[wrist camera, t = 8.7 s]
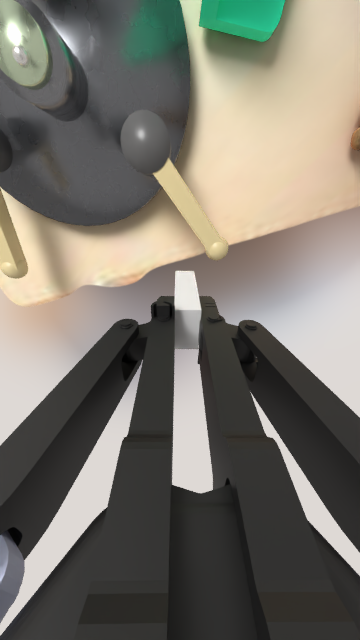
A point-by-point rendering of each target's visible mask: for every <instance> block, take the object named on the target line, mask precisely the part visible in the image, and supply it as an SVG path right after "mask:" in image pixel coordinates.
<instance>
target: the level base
mask: <svg viewBox="0 0 360 640" xmlns="http://www.w3.org/2000/svg"><path fill="white" fill-rule="evenodd" d="M189 95H190V61H189V52H188V42H187V34H186V29H185V24H184V18H183V13H182V8H181V4H180V1H179V0H0V129H1V130H2V131H3V133H4V134H5V135H6V137H7V139H8V140H9V143H10V145H11V148H12V153H13V160H12V164H11V166H10V167H9V169H7V170H6V171H4V172H0V187H1V188H2V189H3V190H5V191H6V192H7V193H9V194H10V195H11V196H13V197H14V198H15V199H16V200H18V201H19V202H21V203H22V204H24V205H26V206H27V207H29V208H30V209H32V210H34V211H36V212H38V213H40V214H42V215H44V216H46V217H49V218H52V219H55V220H57V221H60V222H65V223H69V224H73V225H84V226H92V225H103V224H108V223H112V222H115V221H118V220H121V219H123V218H126V217H128V216H129V215H131V214H133V213H135V212H137V211H138V210H140V209H141V208H142V207H143V206H145V205H146V204H147V203H148V202H149V201H150V200H151V199H152V198H153V197H154V196H155V195H156V194H157V193H158V192H159V190H160V189H161V188H162V186H161V184H160V183H159V182H158V180H157V179H156V177H155V176H147V175H145V174H143V173H141V172H139V171H137V170H135V169H134V168H133V167H132V166H131V165H130V164H129V163H128V162H127V160H126V158H125V156H124V154H123V151H122V148H121V130H122V127H123V124H124V122H125V120H126V119H127V118H128V116H129V115H131V114H132V113H133V112H135V111H138V110H149V111H151V112H154V113H155V114H157V115H158V116H159V117H160V118H161V119H162V121H163V122H164V123H165V125H166V127H167V130H168V133H169V137H170V143H171V159H170V161H171V162H172V164H173V165H175V162H176V160H177V158H178V155H179V152H180V149H181V145H182V142H183V138H184V134H185V128H186V123H187V117H188V108H189Z"/></svg>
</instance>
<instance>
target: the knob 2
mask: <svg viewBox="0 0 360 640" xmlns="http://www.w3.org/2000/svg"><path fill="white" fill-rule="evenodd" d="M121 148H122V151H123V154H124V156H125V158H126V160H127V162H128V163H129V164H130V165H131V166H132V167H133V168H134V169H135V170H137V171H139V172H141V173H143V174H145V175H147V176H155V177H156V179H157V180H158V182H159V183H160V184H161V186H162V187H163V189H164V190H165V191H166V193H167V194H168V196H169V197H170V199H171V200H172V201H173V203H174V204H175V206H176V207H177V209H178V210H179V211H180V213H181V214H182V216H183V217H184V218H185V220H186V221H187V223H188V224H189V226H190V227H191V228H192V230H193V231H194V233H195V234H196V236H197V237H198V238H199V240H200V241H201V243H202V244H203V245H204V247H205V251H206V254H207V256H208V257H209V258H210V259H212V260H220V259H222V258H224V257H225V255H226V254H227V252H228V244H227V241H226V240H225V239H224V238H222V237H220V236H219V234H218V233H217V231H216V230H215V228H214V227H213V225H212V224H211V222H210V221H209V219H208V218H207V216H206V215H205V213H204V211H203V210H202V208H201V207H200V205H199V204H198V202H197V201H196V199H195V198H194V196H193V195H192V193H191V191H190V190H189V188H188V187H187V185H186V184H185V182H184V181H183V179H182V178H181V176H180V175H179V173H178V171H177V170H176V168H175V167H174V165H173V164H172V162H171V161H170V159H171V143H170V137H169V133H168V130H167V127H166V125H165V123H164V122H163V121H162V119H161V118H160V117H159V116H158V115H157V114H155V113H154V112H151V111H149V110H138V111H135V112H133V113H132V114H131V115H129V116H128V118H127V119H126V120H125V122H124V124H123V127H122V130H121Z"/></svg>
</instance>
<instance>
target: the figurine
mask: <svg viewBox="0 0 360 640" xmlns="http://www.w3.org/2000/svg"><path fill="white" fill-rule="evenodd" d="M351 147H352V149H354V150H360V127H359V128H358V129H357V130H356V131H355V132H354V133H353V135H352V139H351Z"/></svg>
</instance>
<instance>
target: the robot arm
mask: <svg viewBox="0 0 360 640" xmlns="http://www.w3.org/2000/svg"><path fill="white" fill-rule="evenodd" d="M175 273H176V274H175V296H161V297H159V299H157V301H156V302H154V303H153V304H152V305H151V314H152V319H151V321H150V322H148V323H146V324H142V325H138V322H137V321H135V320H132V319H123V320H120V321H118V322H116V323H115V324H114V325H113V326H112V327H111V328H110V329H109V330H108V331H107V332H106V334H104V336H103V337H102V338H101V339H100V340H99V341H98V342H97V343H96V344H95V345H94V346H93V347H92V348H91V349H90V350H89V352H88V353H87V354H86V355H85V356H84V357H83V358H82V359H81V360H80V361H79V362H78V363H77V364H76V365H75V367H74V368H73V369H72V370H71V371H70V372H69V373H68V374H67V375H66V376H65V377H64V378H63V379H62V380H61V381H60V383H59V384H58V385H57V386H56V387H55V388H54V389H53V390H52V391H51V392H50V393H49V394H48V396H46V398H45V399H44V400H43V401H42V402H41V403H40V404H39V405H38V406H37V407H36V408H35V409H34V410H33V411H32V413H31V414H30V415H29V416H28V417H27V418H26V419H25V420H24V421H23V422H22V423H21V424H20V425H19V427H18V428H17V429H16V430H15V431H14V432H13V433H12V434H11V435H10V436H9V437H8V438H7V439H6V440H5V441H4V442H3V443H2V445H1V446H0V623H1V621H2V619H3V618H4V616H5V614H6V613H7V611H8V609H9V608H10V606H11V605H12V604H13V603H14V601H15V599H16V597H17V595H18V593H19V589H20V586H21V584H22V580H23V576H24V560H25V559H26V557H27V556H28V555H29V554H30V552H31V551H32V550H33V548H34V547H35V545H36V544H37V543H38V541H39V540H40V538H41V537H42V535H43V534H44V533H45V531H46V530H47V528H48V527H49V525H50V523H51V522H52V520H53V518H54V517H55V515H56V513H57V512H58V510H59V508H60V507H61V505H62V503H63V501H64V500H65V498H66V496H67V494H68V492H69V490H70V489H71V487H72V485H73V483H74V482H75V480H76V478H77V477H78V475H79V473H80V471H81V469H82V468H83V466H84V464H85V462H86V460H87V459H88V457H89V455H90V453H91V452H92V450H93V448H94V446H95V445H96V443H97V441H98V439H99V437H100V436H101V434H102V432H103V430H104V429H105V427H106V425H107V423H108V421H109V420H110V418H111V416H112V414H113V413H114V411H115V409H116V407H117V405H118V404H119V402H120V400H121V398H122V397H123V395H124V393H125V391H126V389H127V388H128V386H129V384H130V382H131V381H132V379H133V377H134V375H135V374H136V372H137V370H138V368H139V366H140V365H141V362H142V360H143V363H142V368H141V374H140V378H139V383H138V388H137V393H136V398H135V403H134V408H133V413H132V418H131V422H130V427H129V432H128V435H127V437H125V438H124V440H123V441H122V445H121V448H120V453H119V457H118V462H117V466H116V471H115V475H114V480H113V485H112V489H111V494H110V498H109V503H108V507H107V508H106V509H105V510H104V511H102V512H101V513H100V514H99V515H98V516H97V517H96V518H95V519H94V521H93V522H92V523H91V524H90V525H89V527H88V528H87V529H86V530H85V531H84V533H83V534H82V535H81V536H80V538H79V539H78V540H77V541H76V543H75V544H74V545H73V546H72V548H71V549H70V550H69V551H68V553H67V554H66V555H65V557H64V558H63V559H62V560H61V561H60V563H59V564H58V565H57V566H56V567H55V569H54V570H53V571H52V572H51V574H50V575H49V576H48V578H47V579H46V580H45V581H44V582H43V584H42V585H41V586H40V587H39V589H38V590H37V591H36V593H35V594H34V595H33V596H32V597H31V599H30V600H29V601H28V602H27V604H26V605H25V606H24V607H23V609H22V610H21V611H20V612H19V613H18V615H17V616H16V617H15V618H14V620H13V621H12V623H10V625H9V626H8V627H7V628H6V630H5V631H4V632H3V633H2V635H1V636H0V640H360V576H359V575H358V574H357V573H356V572H355V571H354V570H353V568H352V567H351V566H350V565H349V564H348V563H347V562H346V561H345V560H344V559H343V558H342V557H341V555H339V553H338V552H337V551H336V550H335V549H334V548H333V547H332V546H331V545H330V544H329V543H328V542H327V540H326V539H325V538H324V537H323V536H322V535H321V534H320V533H319V532H318V531H317V530H316V529H315V528H314V527H313V525H311V523H309V521H308V520H307V518H306V516H305V513H304V511H303V508H302V506H301V503H300V500H299V498H298V495H297V493H296V490H295V488H294V485H293V482H292V480H291V477H290V475H289V472H288V470H287V467H286V464H285V462H284V459H283V457H282V454H281V452H280V449H279V447H278V445H277V443H276V442H275V440H274V439H273V438H270V437H267V436H266V434H265V432H264V430H263V427H262V424H261V421H260V418H259V415H258V413H257V410H256V407H255V404H254V401H253V398H252V396H251V393H252V394H253V396H254V398H255V399H256V401H257V402H258V404H259V405H260V407H261V408H262V410H263V411H264V413H265V415H266V416H267V418H268V419H269V421H270V422H271V424H272V425H273V427H274V428H275V430H276V431H277V433H278V434H279V436H280V438H281V439H282V441H283V442H284V444H285V445H286V447H287V448H288V450H289V451H290V453H291V454H292V456H293V457H294V459H295V460H296V462H297V464H298V465H299V467H300V468H301V470H302V471H303V473H304V474H305V476H306V477H307V479H308V480H309V482H310V484H311V485H312V486H313V488H314V490H315V491H316V493H317V494H318V496H319V497H320V499H321V500H322V502H323V503H324V505H325V506H326V508H327V509H328V511H329V512H330V514H331V515H332V517H333V518H334V520H335V521H336V522H337V524H338V525H339V526H340V528H341V530H342V531H343V532H344V533H345V534H346V536H347V537H348V538H349V540H350V541H351V542H352V543H353V545H354V546H355V547H356V548H357V549H358V551H359V552H360V418H359V417H358V416H357V415H356V414H355V413H354V412H353V411H352V410H351V409H350V408H349V407H348V406H347V405H346V404H345V403H344V402H343V401H342V400H340V399H339V398H338V397H337V396H336V395H335V394H334V393H333V392H332V391H331V390H330V389H329V388H328V387H327V386H326V385H325V384H324V383H322V382H321V381H320V380H319V379H318V378H317V377H316V376H315V375H314V374H313V373H312V372H311V371H310V370H309V369H308V368H307V367H306V366H305V365H304V364H302V363H301V362H300V361H299V360H298V359H297V358H296V357H295V356H294V355H293V354H292V353H291V352H290V351H289V350H288V349H287V348H285V346H284V345H282V344H281V343H280V342H279V341H278V340H277V339H276V338H275V337H274V336H273V335H272V334H271V333H270V332H269V331H268V330H267V329H266V328H264V327H263V326H262V325H261V324H260V323H258V322H256V321H253V320H243V321H241V322H240V323H239V326H235V325H231V324H227V323H226V322H225V319H224V318H223V317H222V316H220V315H219V312H218V309H217V306H216V304H215V300H214V299H213V298H212V297H210V296H208V297H207V296H199V295H198V290H197V284H196V279H195V274H194V271H176V272H175ZM198 345H199V355H198V364H200V371H201V379H202V388H203V396H204V405H205V413H206V421H207V430H208V438H209V447H210V455H211V464H212V472H213V490H212V491H209V492H206V493H202V494H200V493H196V492H193V491H189V490H186V489H183V488H180V487H177V486H174V485H172V453H173V448H172V447H173V402H174V401H173V400H174V398H173V397H174V349H198ZM256 357H257V358H256ZM250 392H251V393H250Z"/></svg>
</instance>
